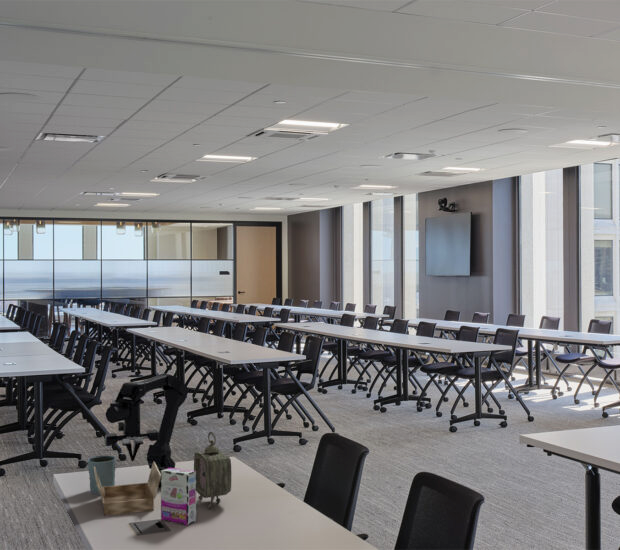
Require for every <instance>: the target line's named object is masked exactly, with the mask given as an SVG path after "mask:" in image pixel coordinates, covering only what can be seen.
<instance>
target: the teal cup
mask: <svg viewBox="0 0 620 550" xmlns="http://www.w3.org/2000/svg"><path fill="white" fill-rule="evenodd" d="M116 462H117V458H116V456H114V455H97V456H93V457H90V458H88V459H87V469H88V474H89V489H90V493H91V494H93V495H100V492H99V489H98V486H97V483H96V479H95V472H94V467H95V468H96V471H97V474H98V477H99V480H100V483H101V486H102V487H106V486H116V484H115V483H116V481H115V478H116V465H117V463H116Z"/></svg>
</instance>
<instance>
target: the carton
mask: <svg viewBox="0 0 620 550" xmlns="http://www.w3.org/2000/svg"><path fill="white" fill-rule="evenodd" d="M102 491H103V497H104V502H105V503H104V504H103V501H102V500H101V501H102V507H103V514H104V516H113V515H114V516H115V515H124V514H133V513H143V512H153V511H155V507H154V506H155V499H154V498H153V496H152V493H151V491H150V488H149V486H148V483H147V482H142V483H141V482H140V483H129V484H128V483H127V484H119V485H118V484H117V485H115V486H106V487H102Z"/></svg>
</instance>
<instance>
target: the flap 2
mask: <svg viewBox="0 0 620 550" xmlns="http://www.w3.org/2000/svg"><path fill="white" fill-rule="evenodd" d="M148 476H149V477H148V480H147V482H146V483H148V486H149V488H150V491H151V493H152V496H153V498H154V500H155V499H156V496H157V492H158V489H159V488H158V486H159V482H160V479H161V474H160V472H159V470H158V468H157V466H156V464H155V462H154V461H153V464H152V468H151V469H150V473H149V475H148Z"/></svg>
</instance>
